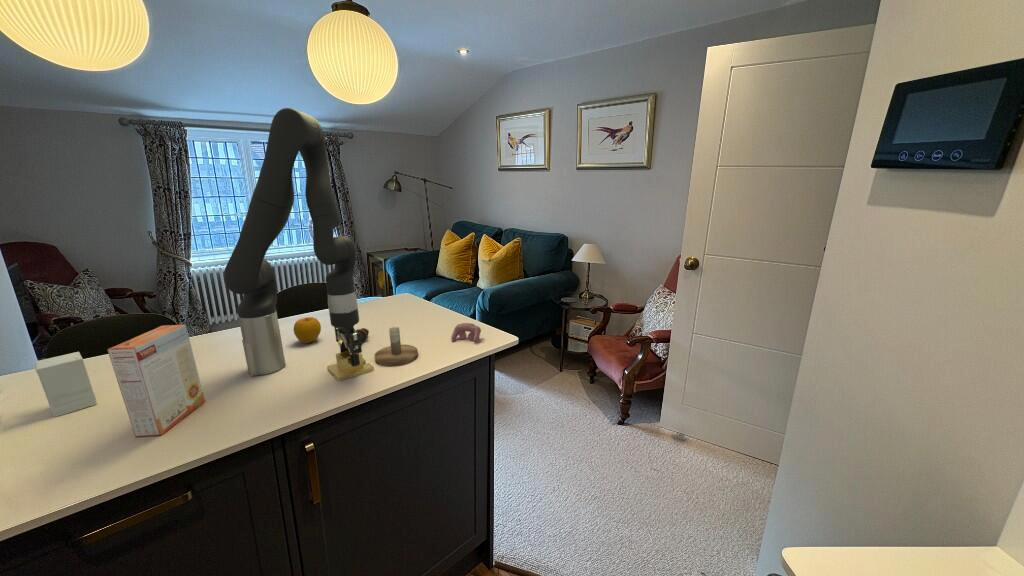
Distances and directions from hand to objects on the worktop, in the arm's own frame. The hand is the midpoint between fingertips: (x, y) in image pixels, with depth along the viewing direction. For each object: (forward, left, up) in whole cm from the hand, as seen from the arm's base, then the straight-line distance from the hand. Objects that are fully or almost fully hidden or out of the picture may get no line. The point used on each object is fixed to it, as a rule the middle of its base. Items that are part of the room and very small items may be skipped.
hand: (350, 361), depth 112 cm
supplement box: (-58, +27, -3) cm, 64 cm away
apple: (-3, +32, -3) cm, 32 cm away
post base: (+14, -1, -3) cm, 14 cm away
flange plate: (0, 0, -3) cm, 3 cm away
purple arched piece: (+38, -4, -3) cm, 39 cm away
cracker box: (-40, +3, -3) cm, 40 cm away
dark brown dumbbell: (+9, +18, -3) cm, 20 cm away
